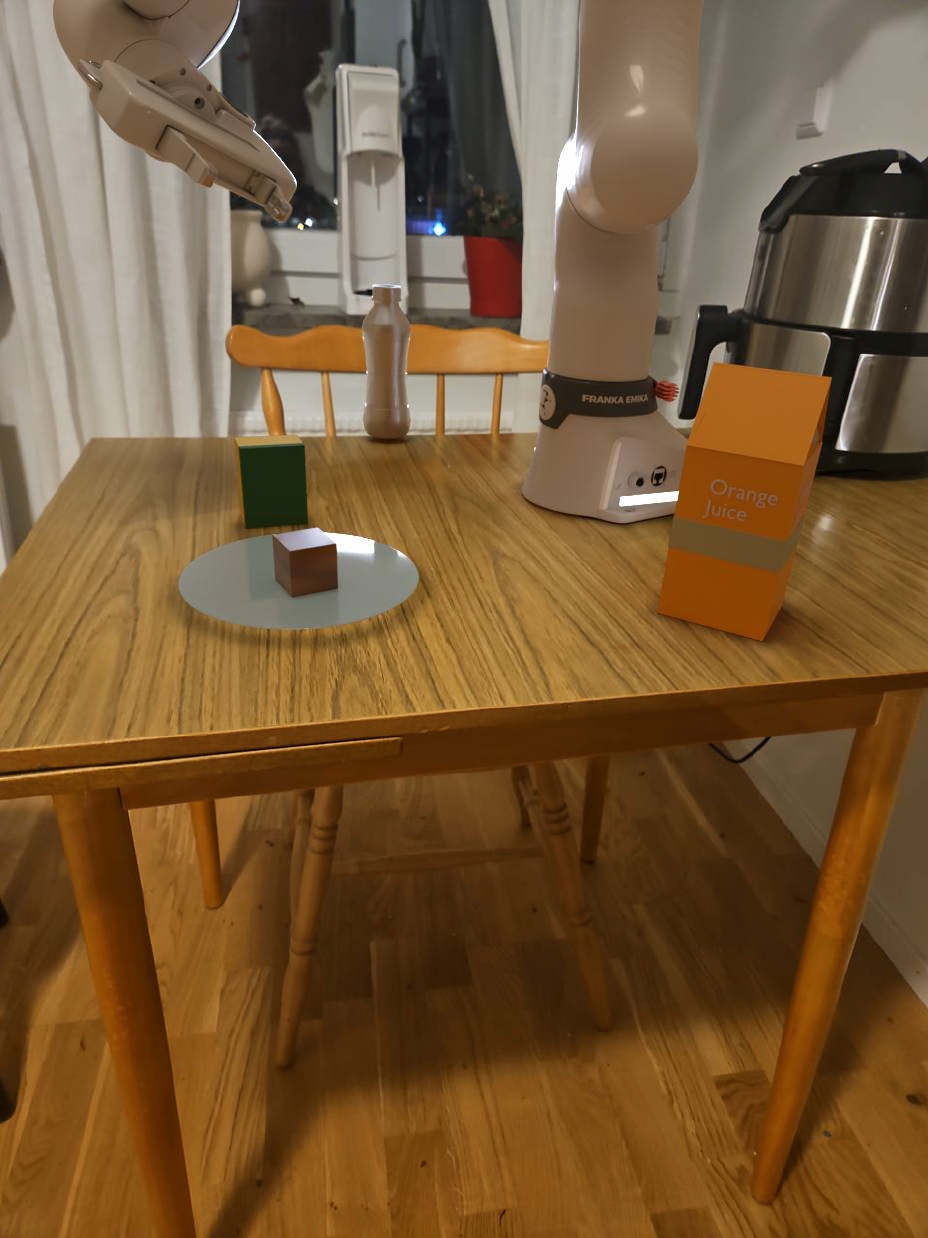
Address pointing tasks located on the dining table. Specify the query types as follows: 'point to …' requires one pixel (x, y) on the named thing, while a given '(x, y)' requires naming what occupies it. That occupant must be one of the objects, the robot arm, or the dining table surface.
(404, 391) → the plastic bottle
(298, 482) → the sponge
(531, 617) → the dining table surface
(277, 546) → the brown cube
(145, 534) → the dining table surface
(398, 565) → the plate
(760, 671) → the dining table surface
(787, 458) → the orange juice
